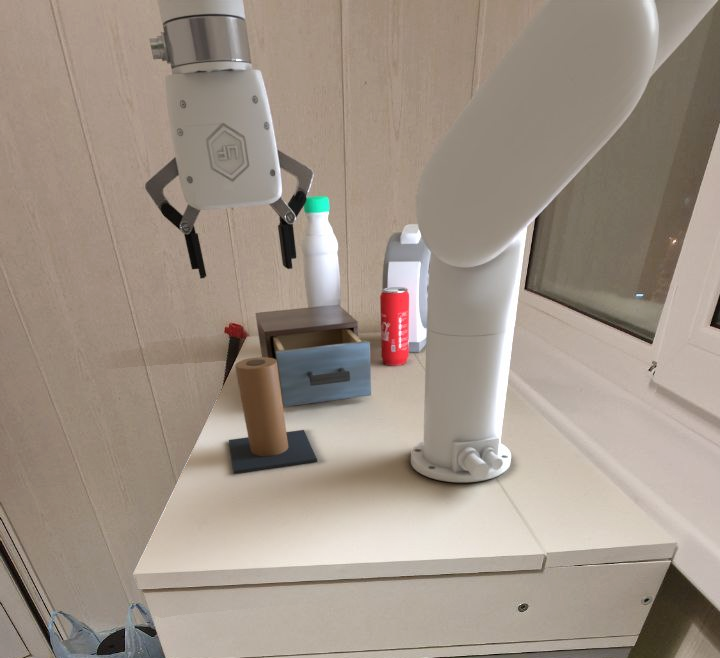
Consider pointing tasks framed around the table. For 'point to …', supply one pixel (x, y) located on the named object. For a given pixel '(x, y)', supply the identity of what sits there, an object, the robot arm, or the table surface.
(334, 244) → the water bottle
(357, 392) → the drawer
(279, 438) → the paper roll
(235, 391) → the table surface
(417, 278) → the white and grey container
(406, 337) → the beverage can
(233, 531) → the table surface
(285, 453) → the mat
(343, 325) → the cabinet
